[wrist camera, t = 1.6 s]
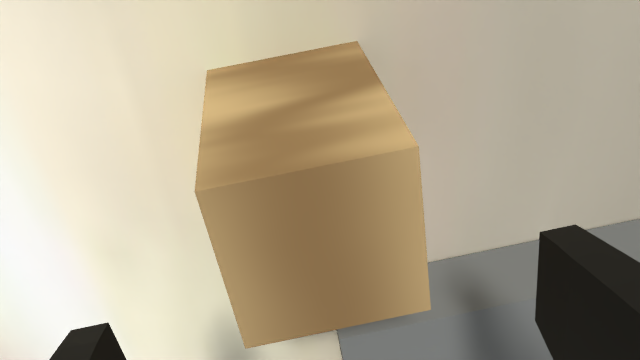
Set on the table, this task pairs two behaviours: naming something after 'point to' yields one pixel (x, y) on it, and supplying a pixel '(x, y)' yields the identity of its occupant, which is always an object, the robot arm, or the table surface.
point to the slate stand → (474, 308)
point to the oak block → (311, 195)
